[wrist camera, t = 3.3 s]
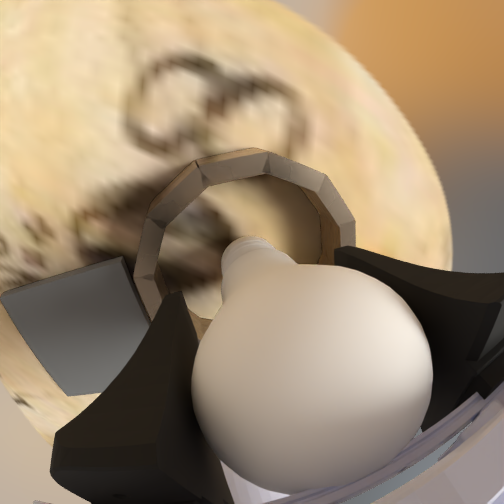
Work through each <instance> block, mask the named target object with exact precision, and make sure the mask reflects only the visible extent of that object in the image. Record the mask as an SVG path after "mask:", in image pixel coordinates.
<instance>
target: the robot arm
mask: <svg viewBox="0 0 504 504" xmlns="http://www.w3.org/2000/svg"><path fill="white" fill-rule="evenodd" d="M334 266H341V267H345V268H349V269H353V270H357V271H359V272H362V273H364V274H366V275H369V276H371V277H373V278H375V279H377V280H379V281H380V282H382V283H384V284H385V285H387V286H389V287H390V288H391V289H392V290H394V291H395V292H396V293H397V294H398V295H399V296H400V297H402V298H403V300H404V301H405V302H406V303H407V305H408V306H409V307H410V308H411V310H412V311H413V313H414V314H415V316H416V317H417V319H418V320H419V322H420V323H421V325H422V328H423V330H424V333H425V335H426V338H427V340H428V343H429V347H430V351H431V358H432V368H433V381H432V392H431V399H430V403H429V406H428V409H427V411H426V414H425V417H424V419H423V422H422V424H421V426H420V427H421V429H422V432H423V433H421V434H420V435H418V436H417V437H416V438H414V439H412V440H411V441H410V442H409V444H408V445H407V446H406V447H405V448H404V449H403V450H402V451H401V452H400V453H399V454H398V455H397V456H396V457H395V458H394V459H393V460H392V461H391V462H390V463H389V464H387V465H386V466H384V467H383V468H381V469H379V470H378V471H376V472H374V473H372V474H370V475H368V476H366V477H364V478H362V479H360V480H357V481H355V482H352V483H350V484H347V485H343V486H330V487H324V488H318V489H308V490H305V491H303V492H300V493H297V494H293V495H287V494H282V493H277V492H273V491H269V490H266V489H263V488H260V487H258V486H256V485H255V484H253V483H251V482H249V481H247V480H245V479H243V478H241V477H240V476H239V475H238V474H236V473H235V472H234V471H233V470H231V469H230V468H229V467H228V466H226V465H225V464H224V463H223V462H222V461H221V460H220V459H219V458H218V457H217V456H216V454H215V453H214V452H213V450H212V449H211V447H210V446H209V444H208V443H207V442H206V440H205V438H204V435H203V433H202V431H201V429H200V426H199V424H198V421H197V419H196V416H195V413H194V410H193V403H192V395H191V378H192V372H193V366H194V361H195V356H196V353H197V350H198V347H199V342H198V337H197V333H196V330H195V327H194V325H193V322H192V319H191V317H190V314H189V311H188V308H187V306H186V303H185V300H184V297H183V294H182V291H180V292H176V293H172V294H168V295H165V297H164V299H163V300H162V302H161V305H160V307H159V309H158V311H157V313H156V315H155V317H154V319H153V321H152V323H151V325H150V326H149V328H148V330H147V332H146V334H145V336H144V337H143V339H142V341H141V342H140V344H139V346H138V348H137V349H136V351H135V352H134V354H133V355H132V357H131V358H130V360H129V361H128V362H127V364H126V365H125V366H124V368H123V369H122V370H121V372H120V373H119V374H118V375H117V376H116V378H115V379H114V380H113V381H112V382H111V383H110V384H109V386H108V387H107V388H106V389H105V390H104V391H103V392H102V393H101V394H100V395H99V396H98V397H97V398H96V399H95V400H94V401H93V402H92V403H91V404H90V405H89V406H88V407H87V408H86V409H85V410H84V411H82V412H81V413H80V414H79V415H78V416H76V417H75V418H74V419H73V420H71V421H70V422H69V423H68V424H66V425H65V426H64V427H62V428H61V429H60V430H58V431H57V432H56V433H55V438H54V444H53V451H52V458H51V466H50V474H51V476H52V478H53V479H54V480H55V481H56V482H57V483H58V484H59V485H61V486H62V487H64V488H65V489H67V490H69V491H70V492H72V493H74V494H76V495H77V496H79V497H81V498H83V499H85V500H87V501H89V502H91V504H340V503H342V502H344V501H347V500H349V499H351V498H353V497H356V496H358V495H360V494H362V493H364V492H366V491H368V490H370V489H372V488H374V487H376V486H378V485H380V484H382V483H383V482H385V481H387V480H389V479H391V478H393V477H394V476H396V475H398V474H399V473H401V472H403V471H405V470H406V469H408V468H410V467H411V466H413V465H414V464H416V463H417V462H419V461H420V460H422V459H423V458H425V457H426V456H428V455H429V454H431V453H432V452H434V451H435V450H436V449H438V448H439V447H440V446H442V445H443V444H445V443H446V442H447V441H449V440H450V439H451V438H453V437H454V436H455V435H456V434H458V433H459V432H460V431H461V430H462V429H464V428H465V427H466V426H467V425H468V424H470V423H471V422H472V423H471V424H470V425H469V426H468V427H467V428H466V429H465V430H464V431H463V432H462V433H461V434H460V435H459V437H458V438H457V440H456V441H455V442H454V443H453V444H452V445H451V446H450V448H448V450H446V451H445V453H443V454H442V455H441V456H440V457H439V458H438V462H437V463H436V464H434V465H433V466H432V467H430V468H429V469H428V470H426V471H424V472H423V473H421V474H420V475H418V476H417V477H415V478H414V479H412V480H411V481H409V482H407V483H406V484H404V485H403V486H401V487H399V488H398V489H396V490H394V491H393V492H391V493H389V494H388V495H386V496H384V497H382V498H380V499H378V500H377V501H375V502H373V503H371V504H504V273H486V274H485V273H462V272H453V271H445V270H439V269H433V268H428V267H423V266H419V265H415V264H411V263H407V262H403V261H400V260H397V259H393V258H390V257H387V256H384V255H380V254H377V253H374V252H371V251H368V250H364V249H361V248H357V247H353V246H348V245H347V246H343V247H340V248H336V249H334ZM33 504H50V503H45V502H41V501H36V500H35V501H34V502H33Z"/></svg>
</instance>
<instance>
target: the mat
mask: <svg viewBox="0 0 504 504" xmlns="http://www.w3.org/2000/svg"><path fill="white" fill-rule="evenodd" d="M0 300H1V302H2V304H3V305H4V307H5V309H6V311H7V313H8V314H9V316H10V318H11V319H12V321H13V323H14V324H15V326H16V327H17V329H18V331H19V332H20V334H21V335H22V337H23V338H24V340H25V341H26V343H27V344H28V346H29V347H30V349H31V350H32V352H33V353H34V354H35V356H36V357H37V359H38V360H39V361H40V363H41V364H42V365H43V367H44V368H45V369H46V371H47V372H48V373H49V374H50V376H51V377H52V378H53V379H54V381H55V382H56V383H57V384H58V386H59V387H60V388H61V389H62V390H63V392H64V393H65V394H66V395H67V396H77V395H86V394H94V393H102V392H103V391H104V390H105V389H106V388H107V387H108V386H109V384H110V383H111V382H112V381H113V380H114V379H115V378H116V376H117V375H118V374H119V373H120V372H121V370H122V369H123V368H124V366H125V365H126V364H127V362H128V361H129V360H130V358H131V357H132V355H133V354H134V352H135V351H136V349H137V348H138V346H139V344H140V342H141V341H142V339H143V337H144V336H145V334H146V332H147V330H148V328H149V326H150V325H151V322H150V320H149V318H148V315H147V313H146V311H145V309H144V306H143V304H142V302H141V300H140V297H139V295H138V293H137V290H136V288H135V285H134V283H133V280H132V278H131V275H130V273H129V270H128V268H127V265H126V263H125V260H124V257H123V256H121V257H117V258H114V259H110V260H107V261H103V262H100V263H96V264H93V265H90V266H86V267H83V268H80V269H76V270H73V271H70V272H66V273H63V274H60V275H56V276H53V277H50V278H47V279H44V280H40V281H37V282H34V283H31V284H28V285H25V286H21V287H18V288H15V289H12V290H9V291H6V292H4V293H3V294H2V295H1V297H0Z"/></svg>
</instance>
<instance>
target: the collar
mask: <svg viewBox="0 0 504 504" xmlns="http://www.w3.org/2000/svg"><path fill="white" fill-rule="evenodd" d="M261 174H269V175H272V176H275V177H278V178H280V179H283V180H286V181H289V182H291V183H294V184H297V185H299V187H300V188H301V189H302V191H303V192H304V193H305V195H306V196H307V197H308V199H309V200H310V202H311V203H312V204H313V206H314V207H315V208H316V210H317V211H318V213H319V214H320V225H321V240H322V255H321V257H320V259H319V261H318V263H317V265H330V266H334V249H336V248H340V247H343V246H347V245H348V246H353V247H356V237H355V218H354V217H353V215H352V214H351V212H350V210H349V209H348V207H347V206H346V204H345V202H344V201H343V199H342V198H341V196H340V195H339V193H338V191H337V190H336V188H335V187H334V185H333V184H332V182H331V181H330V179H329V178H328V176H327V175H326V174H324V173H321V172H319V171H317V170H314V169H312V168H309V167H307V166H305V165H302V164H300V163H297V162H295V161H292V160H290V159H287V158H285V157H282V156H279V155H277V154H274V153H272V152H269V151H265V150H262V149H258V148H249V149H244V150H239V151H234V152H229V153H224V154H219V155H215V156H210V157H206V158H201V159H197V160H196V162H195V161H193V162H192V163H191V164H190V165H189V166H188V167H187V168H186V169H185V170H183V171H182V172H181V173H180V174H179V175H178V176H177V177H176V178H175V179H174V180H173V181H172V182H171V183H170V184H169V185H168V186H167V187H166V188H165V189H164V190H163V191H162V192H161V193H160V194H159V195H158V196H157V197H156V198H155V199H154V200H153V201H152V202H151V203H150V206H149V209H148V212H147V215H146V219H145V223H144V227H143V232H142V236H141V241H140V245H139V250H138V255H137V260H136V265H135V270H134V275H133V277H134V278H133V279H134V281H135V284H136V286H137V288H138V291H139V293H140V296H141V298H142V300H143V303H144V305H145V307H146V309H147V312H148V314H149V316H150V318H151V321H153V319H154V317H155V315H156V313H157V311H158V309H159V307H160V305H161V302H162V300H163V299H164V297H165V295H168V294H169V292H168V289H167V286H166V284H165V281H164V278H163V275H162V272H161V269H160V267H159V264H158V261H157V259H158V255H159V251H160V247H161V243H162V239H163V235H164V231H165V227H166V226H167V225H168V224H169V223H170V222H171V221H172V220H173V219H174V218H175V217H176V216H177V215H178V214H179V213H180V212H182V211H183V210H184V209H185V208H186V207H187V206H188V205H189V204H190V203H191V202H192V201H193V200H194V199H195V198H196V197H197V196H198V195H200V194H201V193H202V192H203V191H204V190H205V189H206V188H207V187H208V186H212V185H216V184H220V183H225V182H229V181H233V180H238V179H242V178H247V177H252V176H257V175H261ZM188 311H189V314H190V317H191V319H192V322H193V325H194V327H195V330H196V333H197V337H198V342H199V344H200V341H201V339H202V338H203V336H204V334H205V332H206V331H207V329H208V327H209V326H210V324H211V322H212V320H209V319H203V318H199V317H198V316H197V315H195V314H194V313H193V312H191V311H190V310H189V309H188Z"/></svg>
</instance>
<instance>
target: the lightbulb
mask: <svg viewBox="0 0 504 504" xmlns="http://www.w3.org/2000/svg"><path fill="white" fill-rule="evenodd" d="M221 269H222V275H223V280H222V284H221V294H222V300H223V305H222V306H221V308H220V309H219V311H218V312H217V314H216V316H215V317H214V319H213V320H212V322H211V324H210V326H209V327H208V329H207V331H206V332H205V334H204V336H203V338H202V339H201V341H200V344H199V347H198V350H197V353H196V356H195V361H194V366H193V372H192V378H191V395H192V403H193V410H194V413H195V416H196V419H197V421H198V424H199V426H200V429H201V431H202V433H203V435H204V438H205V440H206V442H207V443H208V444H209V446H210V447H211V449H212V450H213V452H214V453H215V454H216V456H217V457H218V458H219V459H220V460H221V461H222V462H223V463H224V464H225V465H226V466H228V467H229V468H230V469H231V470H233V471H234V472H235V473H236V474H238V475H239V476H240V477H241V478H243V479H245V480H247V481H249V482H251V483H253V484H255V485H256V486H258V487H260V488H263V489H266V490H269V491H273V492H277V493H282V494H287V495H293V494H297V493H300V492H303V491H305V490H308V489H318V488H324V487H330V486H343V485H347V484H350V483H352V482H355V481H357V480H360V479H362V478H364V477H366V476H368V475H370V474H372V473H374V472H376V471H378V470H379V469H381V468H383V467H384V466H386V465H387V464H389V463H390V462H391V461H392V460H393V459H394V458H395V457H396V456H397V455H398V454H399V453H400V452H401V451H402V450H403V449H404V448H405V447H406V446H407V445H408V444H409V442H410V441H411V440H412V439H413V438H414V436H415V435H416V433H417V431H418V430H419V428H420V426H421V424H422V422H423V419H424V417H425V414H426V411H427V409H428V406H429V403H430V399H431V392H432V381H433V368H432V358H431V351H430V347H429V343H428V340H427V338H426V335H425V333H424V330H423V328H422V325H421V323H420V322H419V320H418V319H417V317H416V316H415V314H414V313H413V311H412V310H411V308H410V307H409V306H408V305H407V303H406V302H405V301H404V300H403V298H402V297H400V296H399V295H398V294H397V293H396V292H395V291H394V290H392V289H391V288H390V287H389V286H387V285H385V284H384V283H382V282H380V281H379V280H377V279H375V278H373V277H371V276H369V275H366V274H364V273H362V272H359V271H357V270H353V269H349V268H345V267H341V266H330V265H310V264H297V263H296V262H295V261H294V260H293V259H292V258H291V257H289V256H288V255H287V254H285V253H283V252H281V251H279V250H276V249H275V248H274V247H273V246H272V245H271V244H270V243H269V242H267V241H266V240H265V239H263V238H261V237H258V236H244V237H241V238H238V239H236V240H235V241H233V242H232V243H231V244H229V246H228V247H227V248H226V249H225V251H224V253H223V255H222V258H221Z"/></svg>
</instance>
